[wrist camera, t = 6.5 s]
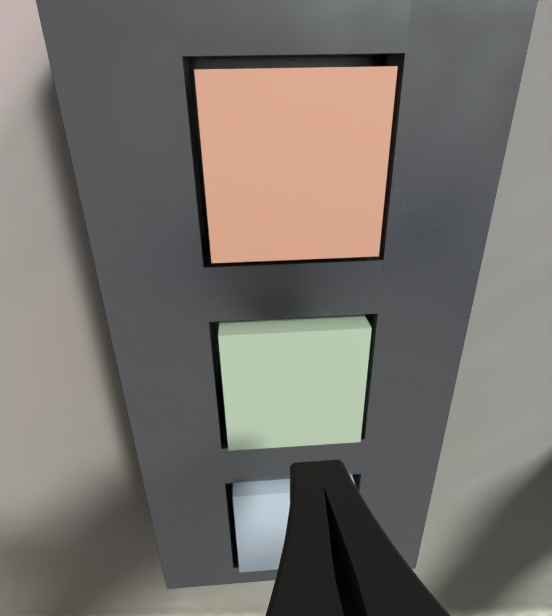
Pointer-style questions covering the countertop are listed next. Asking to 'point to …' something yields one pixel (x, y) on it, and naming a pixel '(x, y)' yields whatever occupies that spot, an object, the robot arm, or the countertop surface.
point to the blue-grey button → (261, 522)
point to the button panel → (283, 273)
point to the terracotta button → (295, 160)
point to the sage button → (294, 380)
